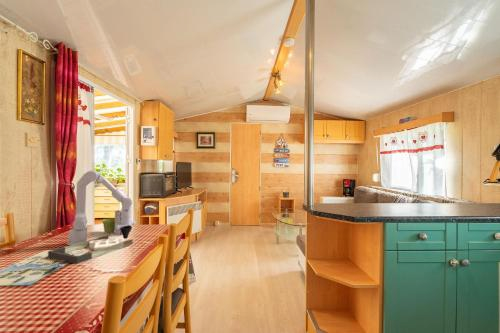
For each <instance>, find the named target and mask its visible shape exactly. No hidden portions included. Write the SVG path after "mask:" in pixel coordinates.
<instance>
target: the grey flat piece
mask: <svg viewBox="0 0 500 333" xmlns="http://www.w3.org/2000/svg"><path fill="white" fill-rule="evenodd" d="M109 236H110V235H109V234H108V235H105V236H100V237H96V238H93V239H87V241H85V242H81V243H77V244H74V245H68V246H64V247H65V253H67V254H68V253H70V252H74V251H78V250H81V249H85V248H87V247H89V242H90V241H93V240H101V239H110V238H109ZM133 241H134V240H133V239H128V240H127V239H126V240H124V242H121V243H118V244H115V245H112V246H108V247H105V248H102V249H99V250H92V251H90V252H91V253H92V259H95V258H97V257H101V256H103V255H106V254H108V253H112V252H115V251H118V250H120V249H124V248H127V247H129V246H132V244H133Z"/></svg>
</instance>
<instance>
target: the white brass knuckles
mask: <svg viewBox="0 0 500 333" xmlns="http://www.w3.org/2000/svg"><path fill="white" fill-rule="evenodd" d="M124 241H125V238H123V237H121V238H120V237H119V238H115V237H114V238H111V237H110V238H109V239H101V240H93V241H90V242H89V246H88V247H89V249H93V251H96V250H99V249H102V248H105V247H108V246H112V245H115V244H118V243H121V242H124Z"/></svg>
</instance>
